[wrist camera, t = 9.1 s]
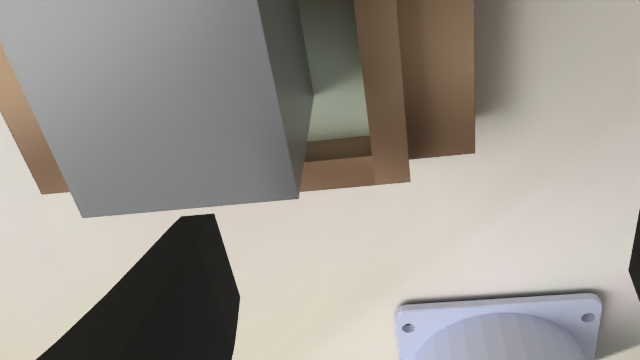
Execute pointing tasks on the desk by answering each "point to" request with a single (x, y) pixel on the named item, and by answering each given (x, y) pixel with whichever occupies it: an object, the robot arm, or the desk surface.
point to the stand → (346, 92)
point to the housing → (165, 98)
